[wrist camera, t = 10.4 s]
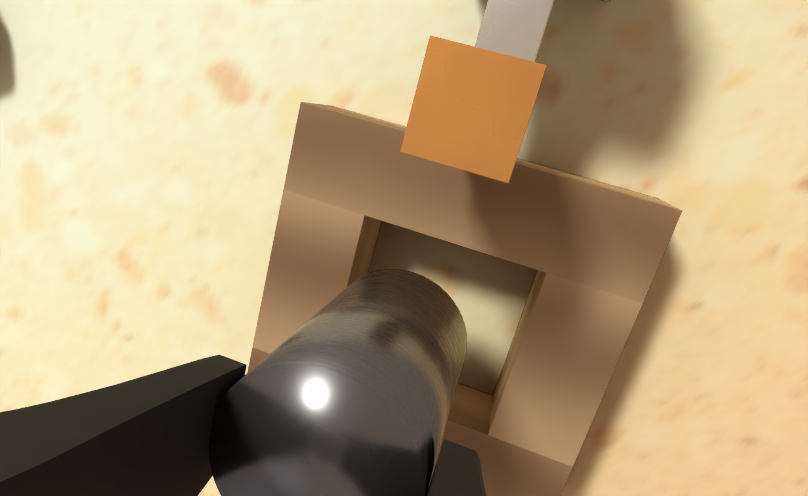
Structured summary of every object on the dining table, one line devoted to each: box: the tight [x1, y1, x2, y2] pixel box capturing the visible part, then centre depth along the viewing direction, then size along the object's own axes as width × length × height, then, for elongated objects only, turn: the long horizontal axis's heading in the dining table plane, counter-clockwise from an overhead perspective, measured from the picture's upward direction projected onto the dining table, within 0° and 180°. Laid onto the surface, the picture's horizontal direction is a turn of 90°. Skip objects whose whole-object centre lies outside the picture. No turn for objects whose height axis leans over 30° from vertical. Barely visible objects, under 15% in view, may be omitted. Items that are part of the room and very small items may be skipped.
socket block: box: [248, 102, 682, 496], centre depth 17 cm, size 11×11×2 cm
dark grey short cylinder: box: [208, 269, 467, 496], centre depth 12 cm, size 4×4×6 cm
